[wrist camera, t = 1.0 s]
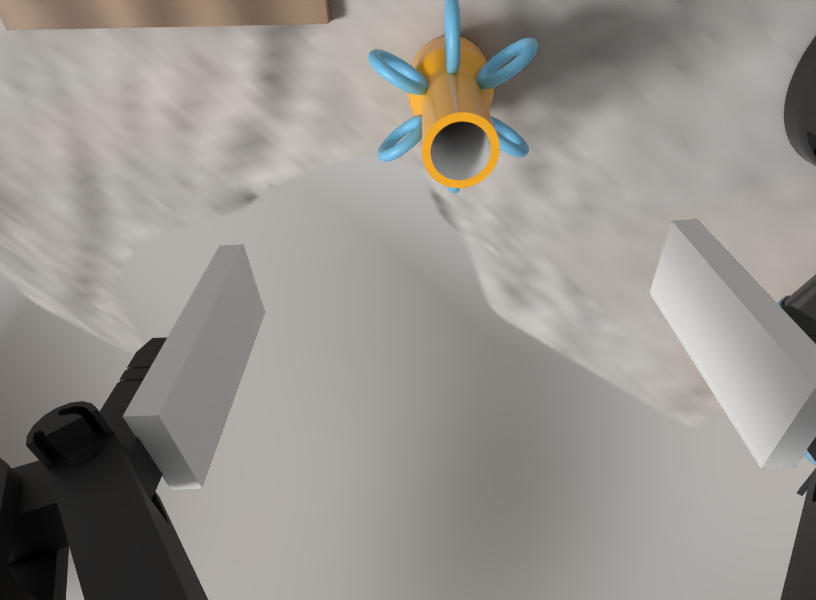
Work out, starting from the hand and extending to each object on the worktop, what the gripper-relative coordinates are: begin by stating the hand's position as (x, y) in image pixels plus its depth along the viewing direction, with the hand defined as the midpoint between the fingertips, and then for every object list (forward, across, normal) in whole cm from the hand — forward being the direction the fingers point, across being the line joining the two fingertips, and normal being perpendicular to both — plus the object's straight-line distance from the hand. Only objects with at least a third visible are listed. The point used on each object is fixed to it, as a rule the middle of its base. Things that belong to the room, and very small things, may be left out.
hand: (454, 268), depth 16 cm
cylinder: (+27, -2, +1) cm, 27 cm away
